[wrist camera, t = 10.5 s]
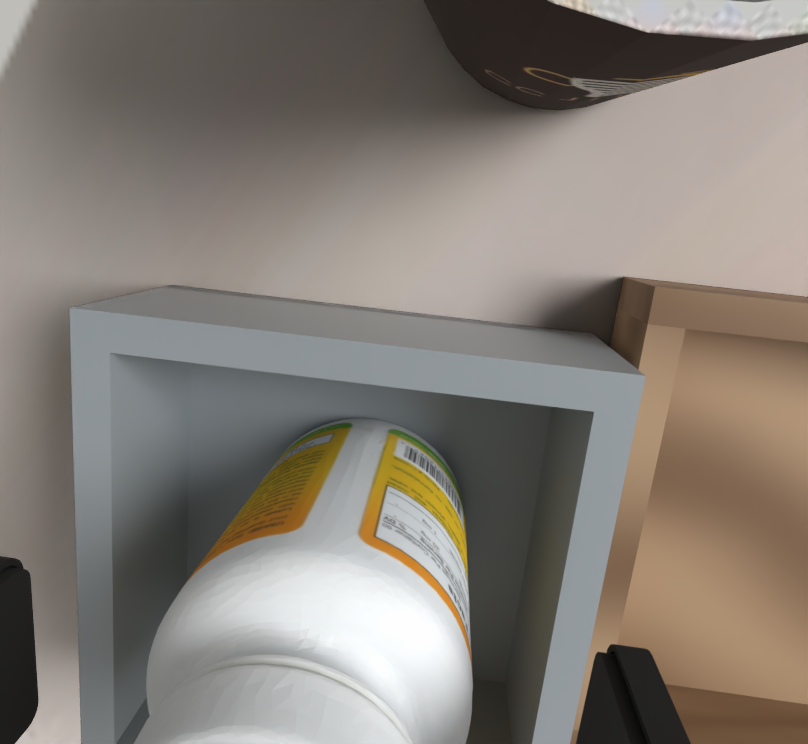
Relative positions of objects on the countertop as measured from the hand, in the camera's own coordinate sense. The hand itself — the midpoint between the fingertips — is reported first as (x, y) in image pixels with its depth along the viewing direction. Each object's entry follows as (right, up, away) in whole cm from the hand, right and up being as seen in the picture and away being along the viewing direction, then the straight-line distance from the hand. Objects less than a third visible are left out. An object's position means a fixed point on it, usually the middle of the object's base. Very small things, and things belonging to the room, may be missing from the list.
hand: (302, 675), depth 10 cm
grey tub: (0, +1, +7) cm, 7 cm away
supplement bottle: (+1, +1, +7) cm, 7 cm away
